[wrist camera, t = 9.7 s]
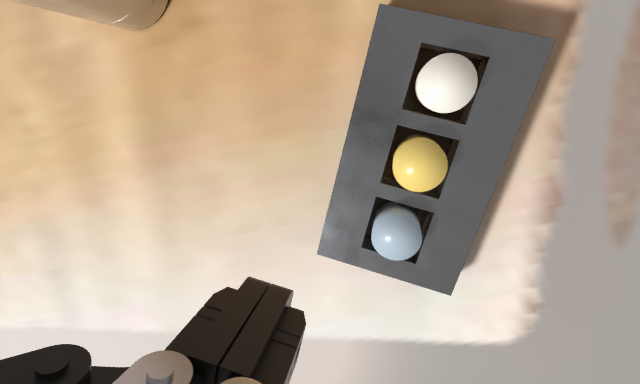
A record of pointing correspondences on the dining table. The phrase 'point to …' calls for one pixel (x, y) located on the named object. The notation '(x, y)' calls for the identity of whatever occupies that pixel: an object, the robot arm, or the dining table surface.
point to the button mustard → (419, 163)
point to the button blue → (396, 231)
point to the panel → (469, 134)
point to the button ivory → (446, 83)
